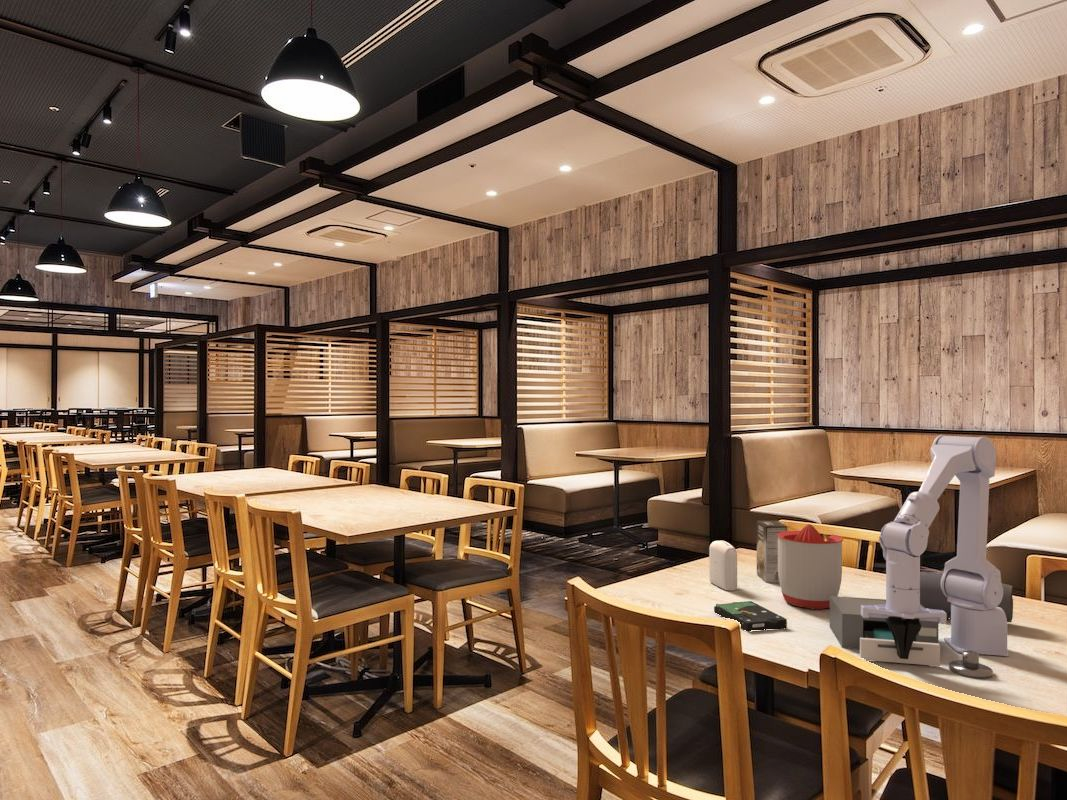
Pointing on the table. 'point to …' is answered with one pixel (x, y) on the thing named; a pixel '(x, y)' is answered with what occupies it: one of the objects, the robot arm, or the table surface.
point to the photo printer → (723, 565)
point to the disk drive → (751, 616)
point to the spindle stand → (970, 666)
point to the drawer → (888, 652)
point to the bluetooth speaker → (937, 600)
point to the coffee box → (768, 549)
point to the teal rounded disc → (883, 633)
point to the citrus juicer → (809, 567)
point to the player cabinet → (866, 622)
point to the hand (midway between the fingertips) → (902, 657)
